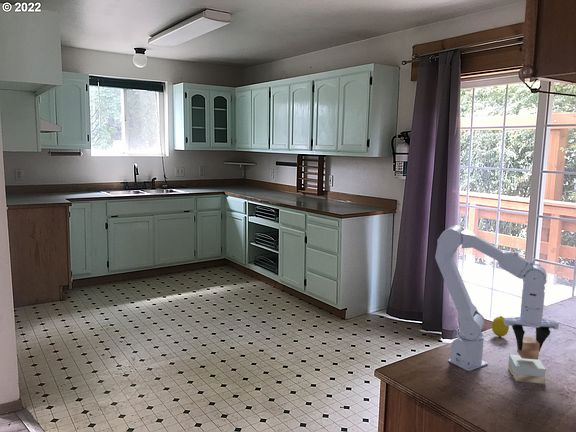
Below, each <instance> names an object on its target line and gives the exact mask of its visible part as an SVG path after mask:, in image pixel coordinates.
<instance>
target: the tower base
mask: <svg viewBox="0 0 576 432" xmlns="http://www.w3.org/2000/svg"><path fill="white" fill-rule="evenodd" d="M507 365H508V366H507V368H508V370H510V371H509V373H510V374H511V376H512V375H513V376H512V377H513V379H514V380H515V382H520V383H521V382H523V383H534V384H544V385H545V384H546V380H547V378H546V377H547V376H545V377H538V376H529V375H520V374H515V373H514V371H513V369H512V367H511V365H510V363H509V362H508V364H507Z"/></svg>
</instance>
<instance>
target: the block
mask: <svg viewBox="0 0 576 432" xmlns="http://www.w3.org/2000/svg"><path fill="white" fill-rule="evenodd" d="M539 346H540V343H539V342H538V341H537V340H536V336H535V337H534V336H524V337H523V345H522V350H519V349H518V348H517V351H516V352H517V355H520V356H521V358H524V359H536V360H538V359H539V354H540V352H539Z"/></svg>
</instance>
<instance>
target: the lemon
mask: <svg viewBox="0 0 576 432" xmlns="http://www.w3.org/2000/svg"><path fill="white" fill-rule="evenodd" d="M504 318H505V317H503V315H500V316H497V317H495V318H494V319H493V321H492V324H491V330H492V332H493V334H494V335H495V336H497V337H498V338H501V337H505V336H506V335H507V334H508V332H509V330H510V325H509V326H505V325H504Z"/></svg>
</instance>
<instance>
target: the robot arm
mask: <svg viewBox="0 0 576 432" xmlns="http://www.w3.org/2000/svg"><path fill="white" fill-rule="evenodd" d="M460 246H461V249H472V248H473V249H475V250H476V251H479V252H481V253H482V254H484V255H486V256H488V257H490V258H492V259H493V260H495V261H497V263H498V266H499V268H501V269H503V270H505V271H506V272H508V273H509V274H511V275H513V276H515V277H516V278H518V279H521V280H523V284H524V285H523V289H522V294H521V295H522V296H521V306H520V316H516V317H515V316H514V317H504V325H505V326H509V327H510V326H511V328H512V330H513V334H514V336H515V339H516V345H517V346H516V347H517V348H518V349H519V350H522V345H523V337H525V332H526V331H525V330H524V327H528V328H529V327H530V328H535V339H536V340H537V341H538V342H539V343H540V346H539V353H540V352H541V349H542V347H543V345H544V342H545V341H546V340H547V338H548V337H549V336H550V334H551V330H550V329H554V330H559V324H560V323H559V322H558V321H557V320H550V319H546V318H545V319H544V318H543V316H544V315H543V314H544V306H545V305H544V304H545V293H546V292H545V290H546V286H545V285H546V283H547V271H546V269H545V268H544V267H543V266H541V265H540V264H539V263H535V262H534V261H531V260H530V261H529V260H527V259H526V258H524V257H522V256H521V255H519V254H520V253H519V252H518V251H516V250H515V251H514V252H513V251H511V250H507V251H503V250H502V249H500V248H499V247H497V246H495V245H493V244H492V243H490V242H489V241H487V240H485V238H482V237H481V236H479V235H477V234H476V233H474V232H473V231H472V230H469V229H468V228H464V227H463V226H461V225H459V224H458V225H457V224H453V225H450V226H449V227H448V228H447V229H445V230H443V231H442V233H441V234H440V236H439V237H438V238H437V246H436V250H435V256H434V258H435V262H436V263H437V266H438V269H439V271H440V273H441V275H442V278H443V280H444V283H445V285H446V288H447V290H448V292H449V295H450V296H451V299H452V301H453V304H454V307H455V309H456V312H457V314H456V317H457V321H458V324H459V326H458V331H459V334H458V337H457V338H455V339H454V340H453V341H452V342H451V347H450V358H449V359H448V360H447V361H448V362H449V363H451V364H453V365H455V366H457V367H459V368H461V369H463V370H465V371H467V372H470V371H474V370H476V369H478V368H482V367H484V366H487V365H488V364H489V363H488V362H487V361H484V359H483V350H484V342H485V341H484V337H485V336H484V334H483V332H482V331H483V328H484V327H485V324H486V321H485V318H484V316H483V315H482V314H481V313H480V312H479V311H478V309H477V306H476V305H474V303H473V302H472V300H471V297H470V295H469V292H468V290H467V288H466V286H465V283H464V281H463V279H462V276H461V274H460V270H459V269H458V267H457V264H456V262H455V259H454V256H455V255H456V252H457V250H458V248H459V247H460Z"/></svg>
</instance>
